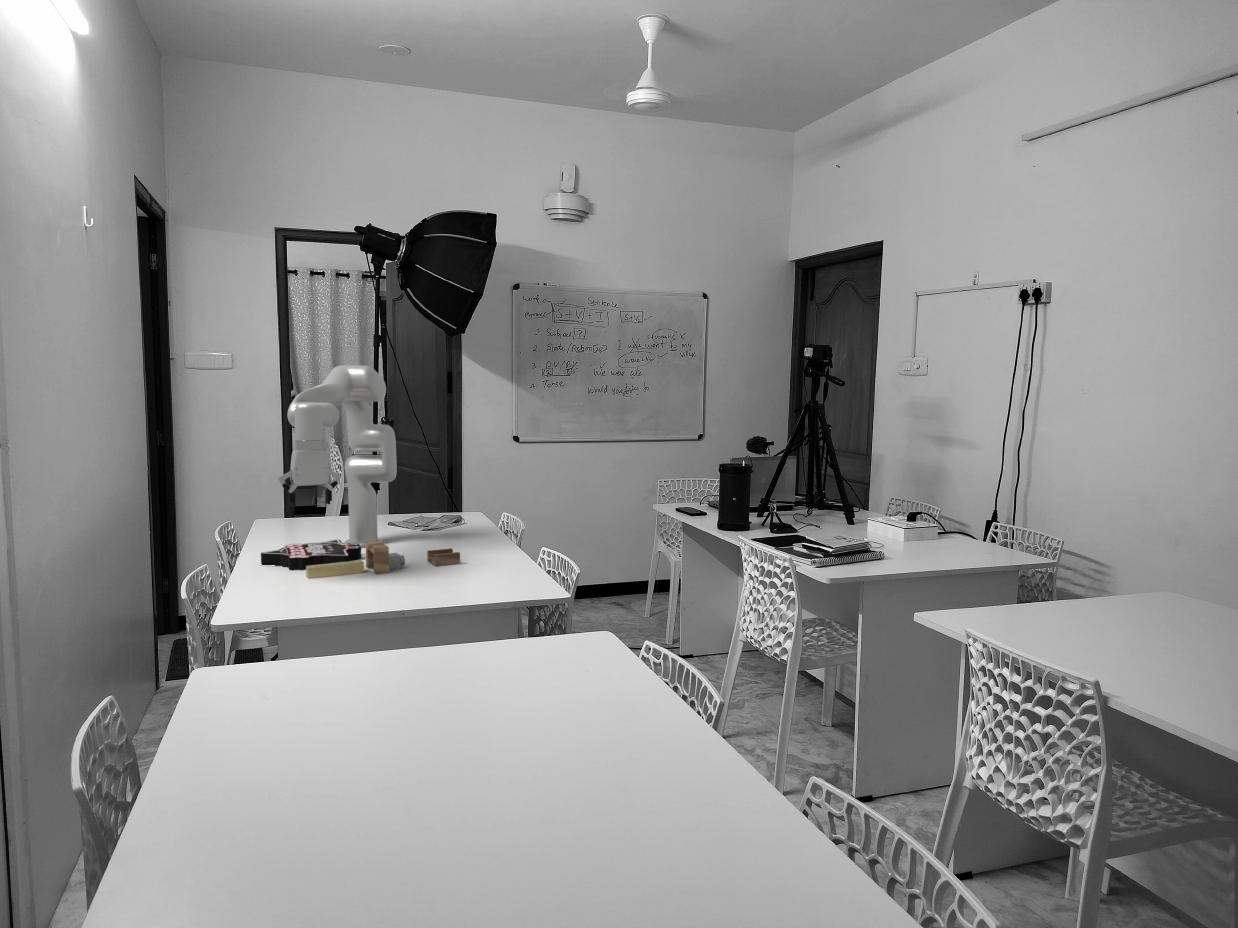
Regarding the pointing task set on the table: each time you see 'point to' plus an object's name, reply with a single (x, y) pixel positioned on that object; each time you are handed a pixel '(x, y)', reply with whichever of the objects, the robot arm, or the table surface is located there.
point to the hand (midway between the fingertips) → (310, 504)
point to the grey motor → (395, 561)
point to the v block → (443, 557)
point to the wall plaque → (312, 554)
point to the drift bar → (334, 569)
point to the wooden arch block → (377, 556)
